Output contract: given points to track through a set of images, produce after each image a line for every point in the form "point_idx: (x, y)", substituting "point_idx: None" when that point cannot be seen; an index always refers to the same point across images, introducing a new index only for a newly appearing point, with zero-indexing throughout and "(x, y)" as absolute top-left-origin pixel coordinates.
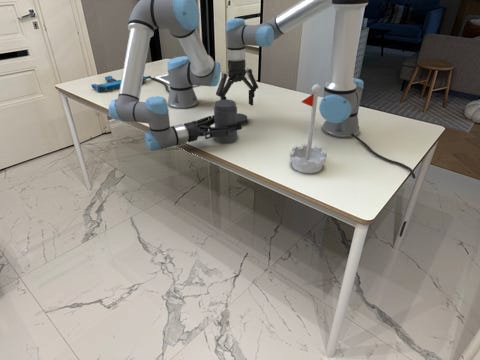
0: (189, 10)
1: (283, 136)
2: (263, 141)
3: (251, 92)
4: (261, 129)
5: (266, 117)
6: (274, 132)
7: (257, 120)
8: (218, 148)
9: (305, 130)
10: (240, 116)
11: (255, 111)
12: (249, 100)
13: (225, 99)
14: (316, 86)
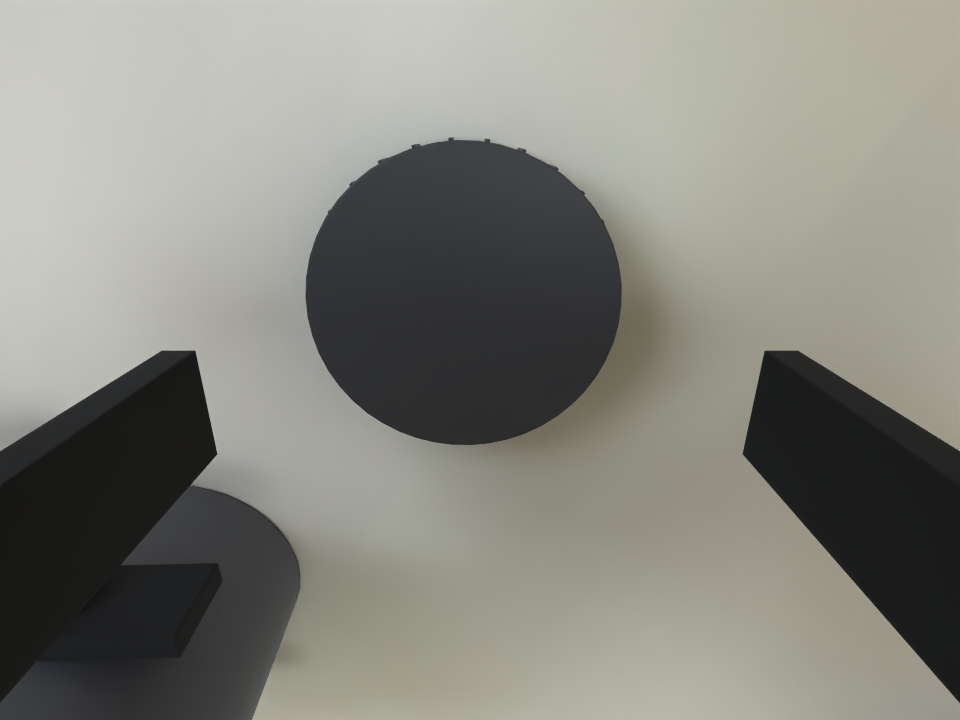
0: None
1: (655, 715)
2: (467, 716)
3: (956, 684)
4: (590, 563)
5: (862, 350)
6: (647, 647)
7: (709, 373)
8: None
9: (877, 710)
10: (529, 308)
11: (928, 78)
12: (804, 417)
13: (11, 656)
14: None
